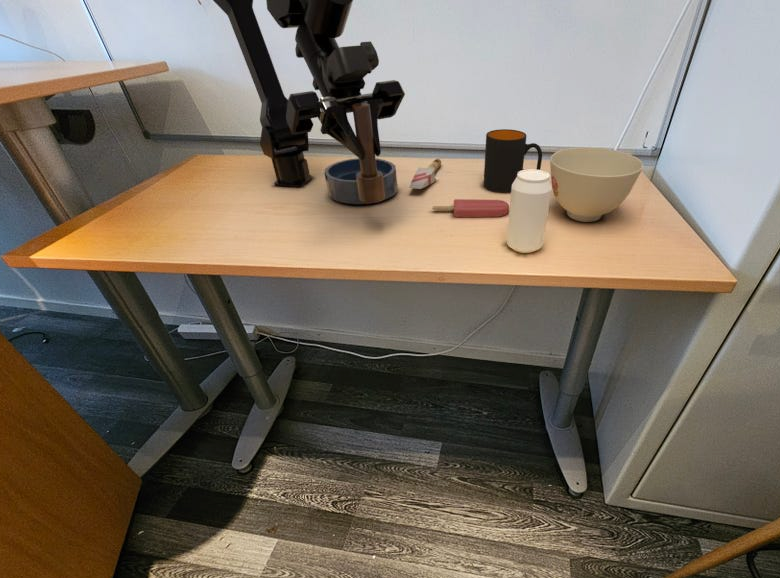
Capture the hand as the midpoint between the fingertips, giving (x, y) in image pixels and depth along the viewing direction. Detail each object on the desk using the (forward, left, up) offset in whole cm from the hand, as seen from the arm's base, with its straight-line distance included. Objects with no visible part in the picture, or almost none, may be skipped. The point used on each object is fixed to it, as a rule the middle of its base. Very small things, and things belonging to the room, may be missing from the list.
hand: (371, 156), depth 66 cm
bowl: (+37, +14, -13) cm, 42 cm away
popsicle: (+15, +12, -13) cm, 23 cm away
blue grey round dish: (-9, +18, -13) cm, 24 cm away
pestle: (-1, +1, -7) cm, 7 cm away
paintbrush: (+3, +28, -13) cm, 31 cm away
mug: (+22, +27, -13) cm, 37 cm away
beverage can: (+26, -1, -13) cm, 29 cm away
